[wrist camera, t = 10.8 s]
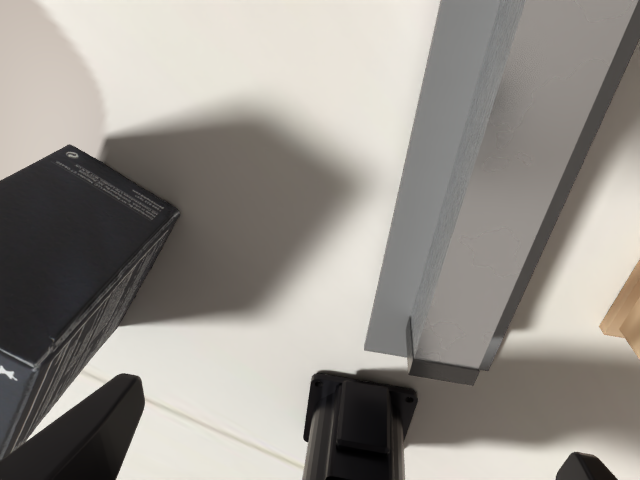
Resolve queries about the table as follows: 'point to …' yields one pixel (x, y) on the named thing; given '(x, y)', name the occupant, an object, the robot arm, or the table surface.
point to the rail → (508, 172)
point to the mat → (438, 159)
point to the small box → (66, 275)
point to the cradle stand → (626, 313)
